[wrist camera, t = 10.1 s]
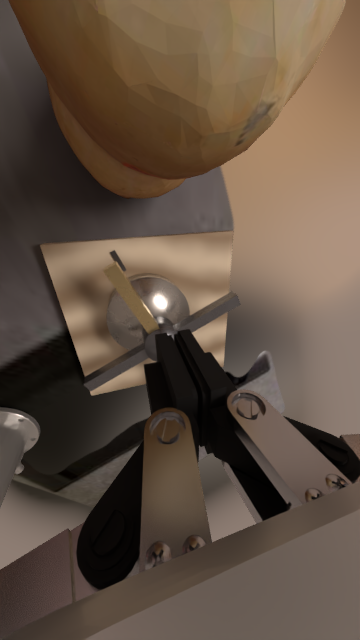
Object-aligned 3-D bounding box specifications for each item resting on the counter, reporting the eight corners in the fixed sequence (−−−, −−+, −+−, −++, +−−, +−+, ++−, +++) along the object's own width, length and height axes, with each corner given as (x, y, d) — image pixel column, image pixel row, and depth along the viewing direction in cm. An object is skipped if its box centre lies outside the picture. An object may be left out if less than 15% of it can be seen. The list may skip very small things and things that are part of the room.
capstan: (239, 336, 40) (261, 359, 33) (132, 399, 40) (135, 433, 34) (188, 211, 27) (209, 210, 21) (34, 301, 27) (9, 327, 21)
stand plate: (220, 362, 44) (223, 367, 42) (92, 389, 38) (91, 396, 37) (228, 230, 32) (234, 231, 30) (43, 243, 26) (39, 245, 25)
